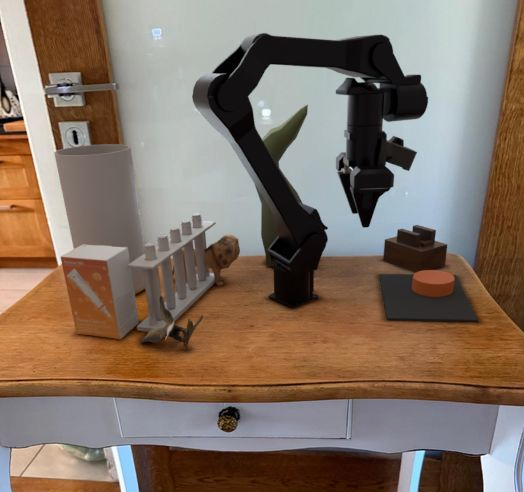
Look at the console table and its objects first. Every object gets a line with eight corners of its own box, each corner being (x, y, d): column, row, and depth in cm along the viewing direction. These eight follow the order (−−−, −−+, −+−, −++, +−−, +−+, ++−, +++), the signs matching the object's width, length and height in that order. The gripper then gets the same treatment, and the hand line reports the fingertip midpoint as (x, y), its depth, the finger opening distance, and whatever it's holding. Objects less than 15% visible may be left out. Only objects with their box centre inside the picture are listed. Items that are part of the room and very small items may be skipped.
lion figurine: (242, 275, 108) (240, 230, 104) (240, 286, 104) (237, 239, 99) (169, 277, 109) (163, 232, 105) (163, 287, 105) (157, 241, 100)
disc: (419, 285, 93) (460, 282, 94) (408, 270, 100) (446, 268, 100) (418, 298, 95) (458, 296, 95) (407, 283, 101) (445, 281, 101)
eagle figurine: (211, 329, 85) (167, 307, 89) (197, 304, 79) (150, 282, 82) (183, 368, 83) (139, 345, 86) (166, 346, 76) (119, 322, 80)
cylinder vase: (151, 295, 101) (131, 152, 89) (81, 304, 98) (50, 157, 87) (148, 273, 112) (129, 142, 100) (84, 280, 109) (57, 147, 98)
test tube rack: (162, 333, 87) (150, 252, 80) (137, 330, 88) (124, 251, 82) (220, 277, 108) (215, 209, 101) (199, 275, 109) (193, 208, 103)
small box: (75, 335, 88) (58, 256, 81) (97, 318, 93) (83, 243, 87) (120, 340, 85) (106, 259, 79) (140, 323, 91) (128, 246, 84)
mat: (478, 322, 86) (478, 319, 86) (386, 320, 88) (386, 317, 88) (455, 276, 104) (455, 274, 104) (379, 275, 106) (379, 273, 105)
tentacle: (307, 271, 109) (307, 106, 95) (247, 268, 112) (239, 107, 98) (315, 256, 117) (316, 102, 103) (259, 254, 120) (253, 103, 106)
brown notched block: (419, 274, 106) (423, 238, 103) (383, 260, 113) (385, 227, 110) (444, 266, 109) (449, 232, 106) (407, 253, 117) (410, 221, 113)
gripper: (432, 128, 81) (421, 232, 89) (399, 116, 98) (392, 205, 105) (356, 132, 81) (352, 236, 88) (336, 119, 97) (334, 208, 105)
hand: (360, 220), depth 97 cm, fingers open, 9 cm apart
